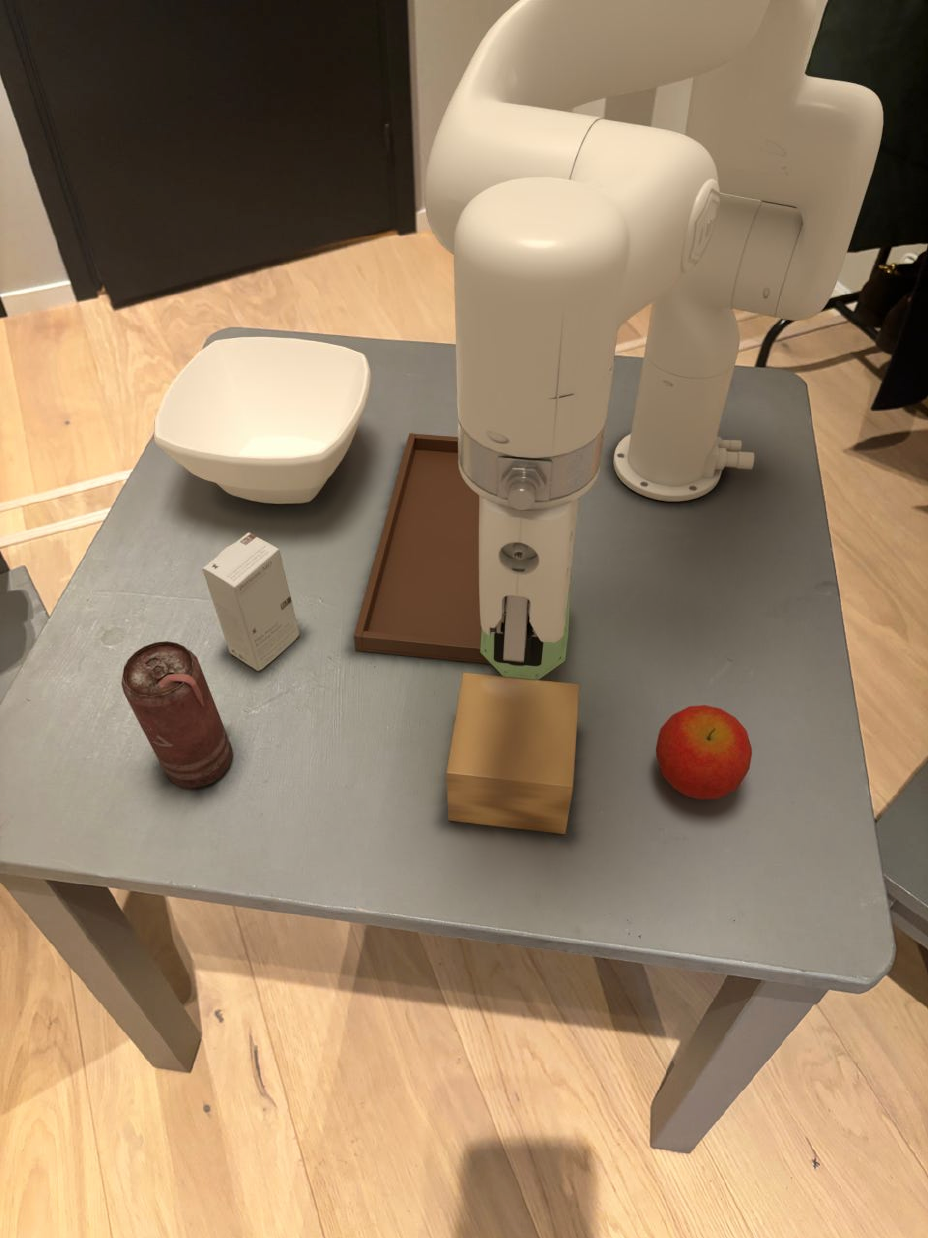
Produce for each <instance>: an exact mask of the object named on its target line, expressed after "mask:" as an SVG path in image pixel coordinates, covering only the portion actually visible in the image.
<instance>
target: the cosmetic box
mask: <svg viewBox="0 0 928 1238" xmlns="http://www.w3.org/2000/svg"><path fill="white" fill-rule="evenodd" d="M201 570H202V573H203V576H204V579H205V581H206V582H205V583H206V585H207V588H208V592H209V594H210V598H211V600H212V603H213V606H214V609H215V612H216V615H217V619H218V622H219V624H220V628H221V631H222V633H223V636H224V639H225V643H226V646H227V649H228V652H229V653H230V654H231V655H232V656H234V657H235V658H237V659H238V660H240V661H241V662H243V663H244V664H246V665H247V666H249V667H251V668H252V669H254V670H255V671H256V672H260V671H262V670H263V669H264V668H266V667H267V666H268V665H269V664H270V663H272V662H273V661H274V660H275V659H276V658H277V657H278V656H280V655H281V654H282V653H283V652H284V651H285V650H286V649H287V648H289V647H290V645H292V644H293V642H295V641H296V640H297V638H298V637H299V636H300V630H299V626H298V621H297V617H296V613H295V609H294V605H293V600H292V597H291V592H290V589H289V588H290V587H289V583H288V580H287V576H286V571H285V566H284V563H283V559H282V555H281V550H280V548H278V547H276V546H274V545H273V544H271V543H269V542H267V541H265V540H264V539H261V538H259V537H258V536H256V535H254V534H252V533H251V532H246V533H245V534H244V535H243V536H242V537H240V538H239V539H238V540H237V541H235V542H234V543H232V544H230V545H228V546H227V547H225V548H224V549H222V551H220V553H218V555H217V556H216V557H215V558H213V559H212V560H211V561H210V562H208V563H207V564H205V565H204V566H203V567H202V569H201Z"/></svg>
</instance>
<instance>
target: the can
mask: <svg viewBox="0 0 928 1238" xmlns="http://www.w3.org/2000/svg"><path fill="white" fill-rule="evenodd" d="M121 688H122V692H123V694H124V696H125V698H126V701H127V702H128V704H129V706H130V708H131V710H132V712H133V714H134V715H135V717H136V720H137V721H138V724H139V726H140V727H141V729H142V731H143V733H144V735H145V737H146V739H147V742H148V743H149V745H150V747H151V748H152V751H153V753H154V754H155V757H156V758H157V760H158V762H159V764H160V766H161V768H162V770H163V772H164V774H165V775H166V777H167V778H168V779H169V780H170V782H172V783H174V784H175V785H177V786H179V787H183V788H190V789H192V788H193V789H194V788H201V787H205V786H207V785H211V784H212V783H214V782H216V781H217V780H218V779H220V778H221V777H222V776H223V775H224V774H225V772H226V771H227V770H228V769H229V767H230V764H231V762H232V759H233V747H232V744H231V741H230V739H229V736H228V733H227V731H226V728H225V726H224V723H223V720H222V717H221V715H220V712H219V710H218V708H217V706H216V702H215V700H214V697H213V695H212V692H211V689H210V687H209V684H208V682H207V679H206V677H205V674H204V672H203V669H202V666H201V664H200V662H199V659H198V657H197V656H196V654H194V653H193V651H191V650H190V649H188V648H187V647H186V646H184V645H182V644H180V643H179V642H175V641H174V642H173V641H167V640H166V641H165V640H164V641H155V642H153V643H150V644H147V645H145V646H144V645H143V647H141V648H140V649H138V650H136V651H135V652H133V654H131V656H130V657H129V658H128V659H127V660H126V663H125V665H124V667H123V671H122V677H121Z"/></svg>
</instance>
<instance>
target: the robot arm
mask: <svg viewBox="0 0 928 1238" xmlns="http://www.w3.org/2000/svg"><path fill="white" fill-rule="evenodd" d="M816 15H817V0H518V1H517V2H516V3H514V4H513V5H512V6H511V7H510V8H509V9H508V10H506V11H505V12H504V13H503V14H502V15H501V16H500V17H499V18H498V19H497V20H496V22H495V23H493V25H492V26H491V27H490V28H489V30H488V31H487V32H486V34H485V35H484V36H483V38H482V39H481V41H480V43H479V45H478V46H477V48H476V50H475V51H474V54H473V55H472V57H471V59H470V61H469V63H468V65H467V67H466V68H465V70H464V73H463V75H462V77H461V79H460V80H459V82H458V84H457V87H456V88H455V90H454V93H453V94H452V96H451V99H450V100H449V103H448V105H447V107H446V110H445V112H444V114H443V116H442V119H441V121H440V123H439V127H438V128H437V131H436V134H435V137H434V139H433V143H432V146H431V148H430V153H429V158H428V162H427V165H426V170H425V171H426V172H425V179H424V188H423V189H424V190H423V191H424V195H423V196H424V199H423V200H424V209H425V214H426V219H427V222H428V225H429V227H430V230H431V232H432V234H433V236H434V238H435V239H436V240H437V242H438V243H439V244H440V245H441V247H442V248H443V249H445V250H446V251H447V252H449V253H450V254H452V255H453V288H454V289H453V290H454V293H453V294H454V324H455V330H454V331H455V363H456V364H455V365H456V408H457V411H456V413H457V414H456V415H457V417H456V418H457V419H456V420H457V437H458V463H459V470H460V473H461V475H462V477H463V479H464V481H465V482H466V484H467V485H468V486H469V487H470V488H471V489H472V490H473V491H474V492H476V493H477V494H478V495H479V596H480V620H481V627H482V629H483V630H484V632H485V633H486V634H487V635H488V636H490V635H491V633H494V660H495V661H496V662H498V663H507V664H510V665H515V666H525V665H527V666H540V665H541V663H542V653H543V643H544V642H552V643H556V642H557V641H558V640H560V639H561V638H562V636H563V634H564V628H565V619H566V609H567V600H568V592H569V583H570V575H571V576H572V573H571V566H572V565H573V557H574V549H575V548H574V547H575V539H576V530H577V523H578V521H577V520H578V512H579V511H578V510H579V498H581V497H582V496H584V494H586V493H587V492H588V491H589V490H590V489H591V488H592V487H593V486H594V484H595V483H596V481H597V479H598V477H599V474H600V471H601V463H602V456H603V449H604V441H605V434H606V427H607V418H608V414H609V413H608V412H609V404H610V398H611V390H612V381H613V376H614V374H613V373H614V368H615V360H616V359H615V358H616V357H615V356H616V350H617V349H616V348H617V340H618V337H619V336H618V335H619V330H620V328H621V327H622V326H624V324H625V323H627V322H628V321H629V320H630V319H632V318H633V317H634V316H635V315H637V314H638V313H639V312H641V311H642V310H644V309H645V308H647V307H648V306H649V305H650V313H649V320H648V321H649V322H648V327H647V334H646V338H645V339H646V340H645V347H644V352H643V353H644V354H643V360H642V366H641V372H640V377H639V383H638V389H637V395H636V401H635V407H634V414H633V419H632V425H631V426H632V427H631V431H630V433H629V434H627V435H626V436H624V437H623V438H622V439H621V440H620V441H619V442H618V444H617V446H616V447H615V450H614V454H613V461H612V462H613V463H612V464H613V469H614V471H615V474H616V476H617V477H618V478H619V480H620V481H621V482H622V483H623V484H624V485H625V486H626V487H627V488H629V489H630V490H632V491H633V492H635V493H637V494H639V495H641V496H644V497H646V498H649V499H653V500H657V501H664V502H686V501H691V500H694V499H698V498H700V497H703V496H705V495H707V494H708V493H710V492H711V491H712V490H713V489H714V488H715V487H716V486H717V485H718V483H719V481H720V479H721V476H722V472H723V470H724V469H725V468H735V469H741V470H753V468H754V463H755V452H752V451H751V452H750V451H741V450H742V446H743V444H742V443H743V441H742V440H737V439H722V437H721V436H718V433H719V429H720V425H721V421H722V417H723V414H724V410H725V405H726V401H727V397H728V394H729V390H730V386H731V382H732V378H733V374H734V371H735V366H736V363H737V359H738V355H739V351H740V344H741V336H740V335H741V334H740V327H739V323H738V320H737V317H736V314H735V311H734V310H737V311H741V312H746V313H751V314H756V315H761V316H765V317H770V318H775V319H781V320H787V321H794V322H795V321H796V322H799V321H800V322H801V321H808V320H811V319H813V318H814V317H816V316H818V315H819V314H820V313H821V312H822V310H824V308H825V307H826V306H827V304H828V303H829V301H830V299H831V297H832V295H833V293H834V290H835V289H836V285H837V283H838V281H839V277H840V274H841V271H842V269H843V265H844V263H845V259H846V256H847V253H848V250H849V247H850V243H851V240H852V238H853V235H854V231H855V227H856V225H857V221H858V218H859V215H860V212H861V209H862V206H863V203H864V200H865V196H866V193H867V191H868V187H869V184H870V182H871V181H870V180H871V178H872V175H873V172H874V168H875V165H876V161H877V157H878V153H879V149H880V146H881V140H882V136H883V135H882V134H883V127H884V110H883V105H882V102H881V100H880V98H879V96H878V95H877V94H876V93H875V92H874V91H873V90H872V89H870V88H868V87H867V86H864V85H861V84H857V83H853V82H848V81H843V80H835V79H829V78H821V77H816V76H810V75H808V74H806V73H805V70H804V67H805V61H806V56H807V52H808V48H809V44H810V39H811V36H812V32H813V28H814V24H815V20H816ZM690 79H692V84H691V89H690V97H689V104H688V111H687V116H686V117H687V118H686V124H685V133H684V134H683V133H679V132H676V131H673V130H669V129H664V128H661V127H660V128H659V127H654V126H649V125H642V124H637V123H636V124H635V123H630V122H624V121H617V120H612V119H605V118H603V117H601V116H594V115H590V114H589V115H588V114H583V113H576V112H570V110H572V109H575V108H579V107H580V106H583V105H585V104H588V103H591V102H595V101H599V100H602V99H607V98H608V99H609V98H612V97H617V96H622V95H626V94H631V93H638V92H643V91H648V90H651V89H656V88H659V87H663V86H668V85H671V84H673V83H677V82H681V81H687V80H690Z"/></svg>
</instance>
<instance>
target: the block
mask: <svg viewBox="0 0 928 1238" xmlns="http://www.w3.org/2000/svg"><path fill="white" fill-rule="evenodd" d="M461 676H462V677H461V682H460V688H459V695H458V701H457V706H456V713H455V720H454V724H453V730H452V736H451V742H450V748H449V754H448V760H447V766H446V772H445V775H446V795H447V815H448V821H449V822H450V821H451V822H459V823H467V824H475V825H485V826H493V827H499V828H500V827H501V828H502V827H503V828H510V829H518V830H527V831H535V832H544V833H553V834H560V835H566V831H567V825H568V819H569V813H570V807H571V802H572V796H573V790H574V779H575V762H576V748H577V747H576V746H577V745H576V744H577V732H578V731H577V730H578V715H579V699H580V698H579V697H580V684H579V683H569V682H559V681H552V680H551V681H549V680H542V679H541V680H540V679H539V680H533V679H523V678H513V677H504V676H502V675H501V676H500V675H490V674H481V673H473V672H472V673H471V672H463V673H462V675H461Z"/></svg>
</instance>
